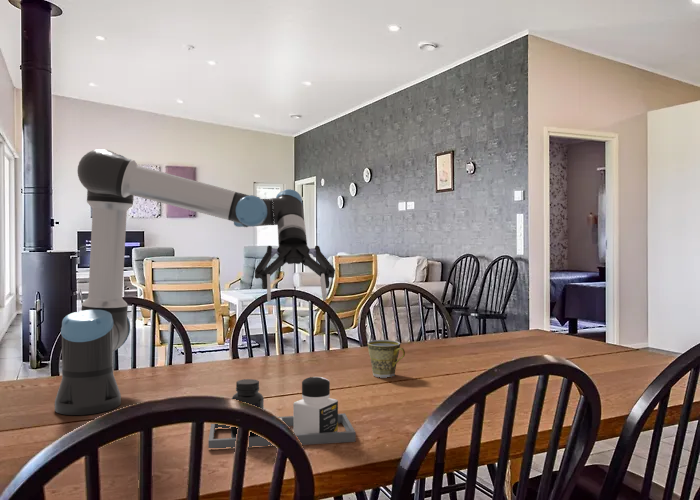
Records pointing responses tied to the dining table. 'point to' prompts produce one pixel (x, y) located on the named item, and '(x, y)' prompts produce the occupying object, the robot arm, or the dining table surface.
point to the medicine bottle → (315, 408)
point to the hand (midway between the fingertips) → (297, 297)
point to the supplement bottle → (248, 397)
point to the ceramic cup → (384, 357)
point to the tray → (304, 438)
